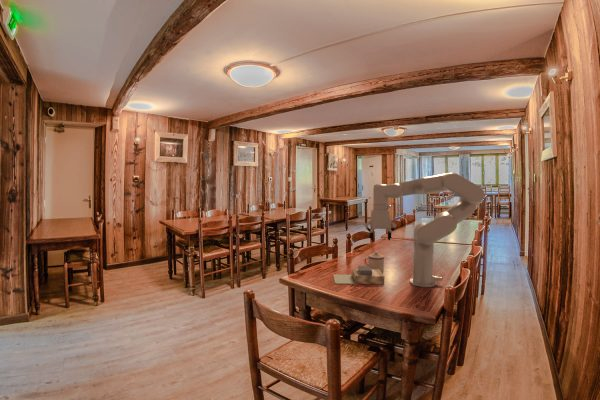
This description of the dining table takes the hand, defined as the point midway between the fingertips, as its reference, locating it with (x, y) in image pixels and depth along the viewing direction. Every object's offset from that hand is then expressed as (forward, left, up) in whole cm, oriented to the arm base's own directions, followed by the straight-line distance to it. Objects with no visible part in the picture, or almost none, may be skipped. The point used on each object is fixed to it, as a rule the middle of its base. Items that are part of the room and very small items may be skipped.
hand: (380, 239), depth 168 cm
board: (+6, 0, -22) cm, 23 cm away
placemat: (+19, 0, -22) cm, 29 cm away
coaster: (+8, 0, -18) cm, 20 cm away
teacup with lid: (0, -17, -22) cm, 28 cm away
